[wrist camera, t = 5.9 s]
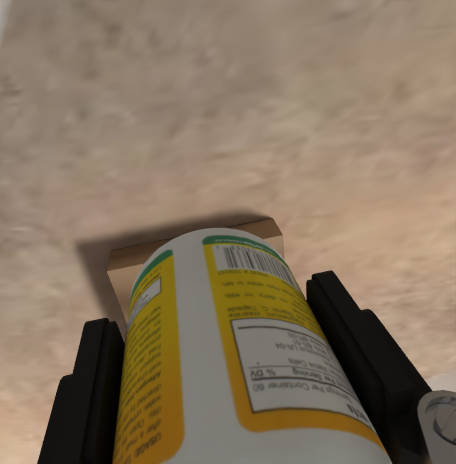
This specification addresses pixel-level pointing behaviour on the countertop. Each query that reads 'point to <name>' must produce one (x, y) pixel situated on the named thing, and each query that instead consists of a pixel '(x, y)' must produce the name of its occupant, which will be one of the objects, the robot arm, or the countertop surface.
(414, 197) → the countertop surface
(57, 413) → the robot arm
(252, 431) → the supplement bottle
